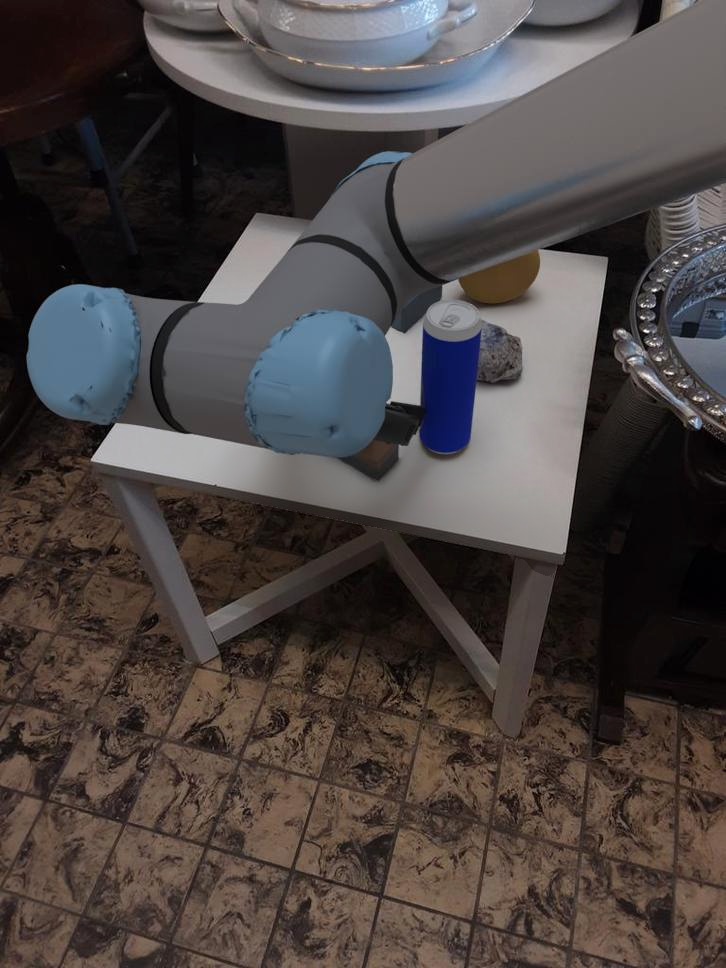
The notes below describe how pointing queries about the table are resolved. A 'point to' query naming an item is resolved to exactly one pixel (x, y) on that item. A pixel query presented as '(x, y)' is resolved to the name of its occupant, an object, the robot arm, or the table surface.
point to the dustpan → (416, 309)
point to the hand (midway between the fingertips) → (378, 399)
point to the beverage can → (449, 374)
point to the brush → (374, 459)
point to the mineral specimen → (498, 354)
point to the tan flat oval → (502, 279)
